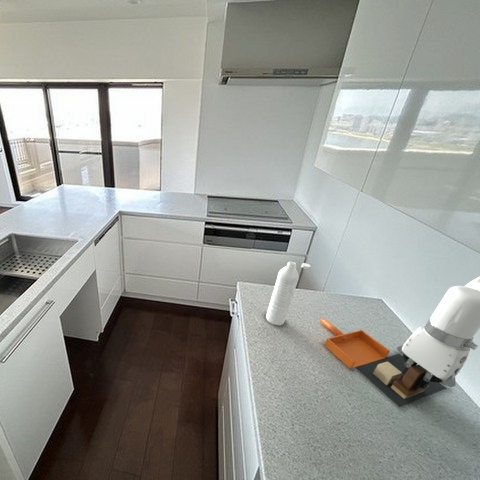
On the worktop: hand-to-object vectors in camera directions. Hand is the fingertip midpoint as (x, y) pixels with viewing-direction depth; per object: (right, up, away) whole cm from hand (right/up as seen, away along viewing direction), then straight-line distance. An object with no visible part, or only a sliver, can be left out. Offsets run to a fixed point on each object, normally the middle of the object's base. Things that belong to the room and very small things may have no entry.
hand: (412, 382), depth 71 cm
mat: (+1, -2, +5) cm, 5 cm away
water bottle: (-26, +9, +25) cm, 37 cm away
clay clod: (-4, -1, +5) cm, 6 cm away
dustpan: (-7, +4, +17) cm, 19 cm away
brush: (0, -3, +1) cm, 3 cm away
